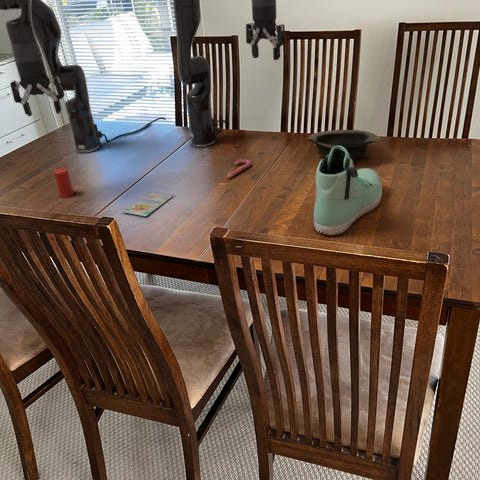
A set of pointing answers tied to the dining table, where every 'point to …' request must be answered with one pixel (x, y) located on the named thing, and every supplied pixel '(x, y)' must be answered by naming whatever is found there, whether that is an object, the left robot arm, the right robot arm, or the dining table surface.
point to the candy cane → (240, 167)
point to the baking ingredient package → (147, 204)
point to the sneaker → (343, 192)
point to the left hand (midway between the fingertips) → (44, 114)
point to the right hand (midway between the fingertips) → (266, 58)
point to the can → (64, 182)
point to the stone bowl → (343, 141)
